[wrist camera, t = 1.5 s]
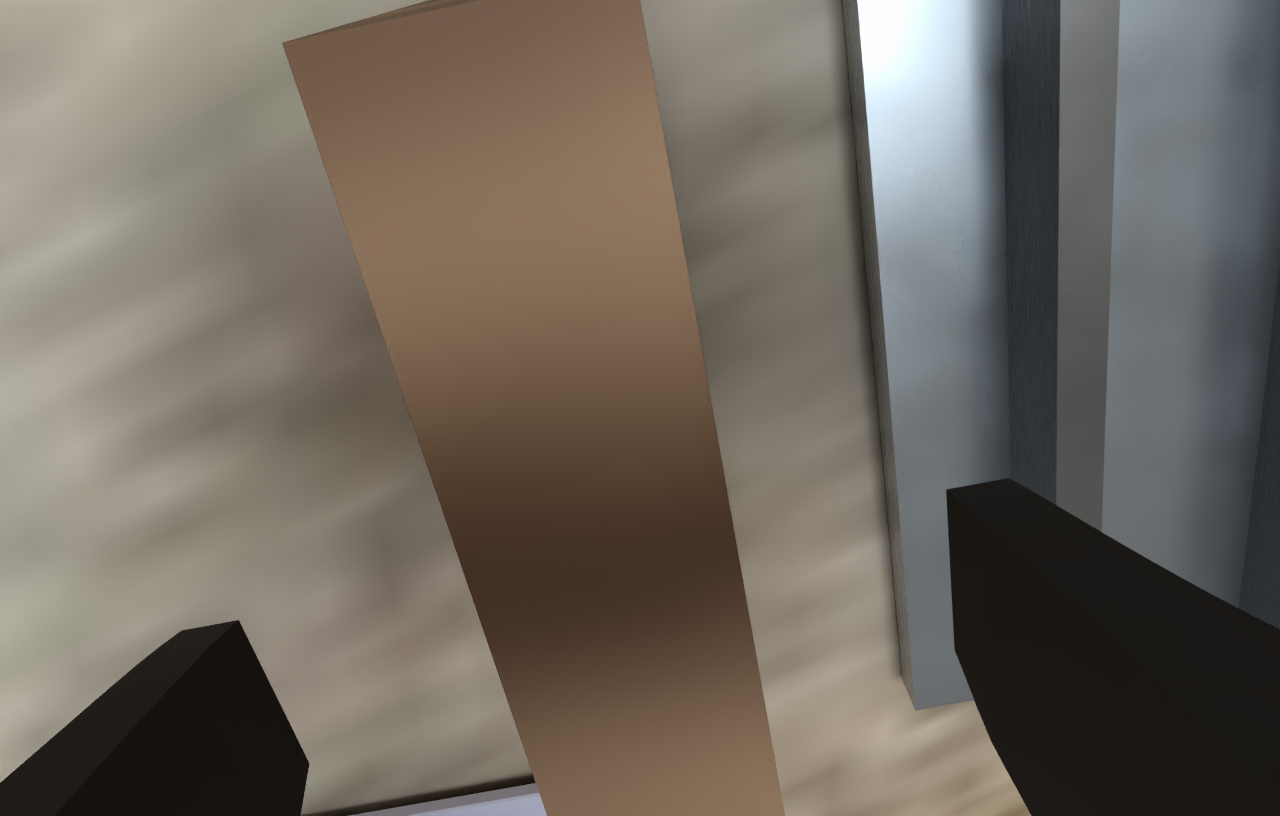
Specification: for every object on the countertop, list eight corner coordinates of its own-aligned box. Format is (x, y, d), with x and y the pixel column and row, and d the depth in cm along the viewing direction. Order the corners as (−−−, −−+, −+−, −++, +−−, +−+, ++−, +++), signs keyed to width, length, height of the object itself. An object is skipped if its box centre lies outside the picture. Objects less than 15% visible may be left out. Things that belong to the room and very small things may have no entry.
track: (1339, 601, 21) (1448, 696, 18) (902, 678, 22) (945, 782, 19) (1552, -586, 12) (1820, -736, 10) (806, -411, 13) (861, -509, 10)
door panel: (727, 564, 20) (800, 903, 13) (591, 589, 20) (589, 939, 13) (614, -40, 15) (633, -33, 8) (432, -1, 15) (282, 42, 8)
